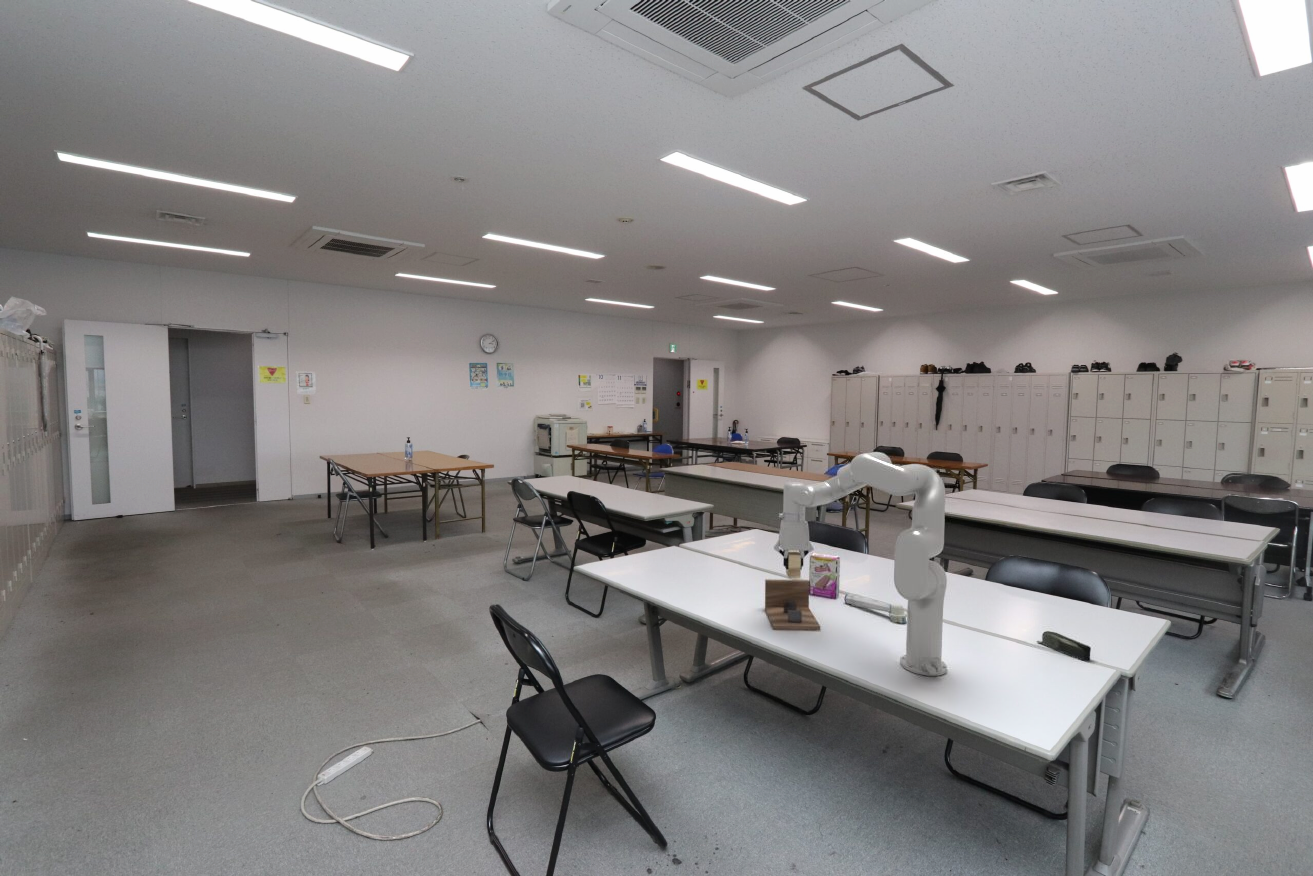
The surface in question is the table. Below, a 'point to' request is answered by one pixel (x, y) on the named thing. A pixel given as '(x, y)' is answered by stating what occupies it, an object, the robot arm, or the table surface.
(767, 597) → the wooden bookend
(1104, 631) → the table surface
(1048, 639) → the dark green stapler
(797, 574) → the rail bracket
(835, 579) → the candy bar box
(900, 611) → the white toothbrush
